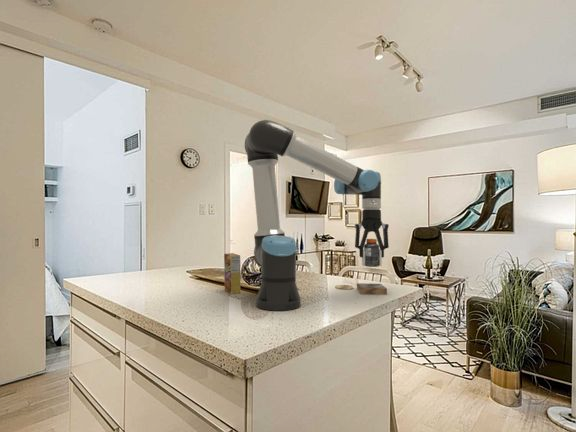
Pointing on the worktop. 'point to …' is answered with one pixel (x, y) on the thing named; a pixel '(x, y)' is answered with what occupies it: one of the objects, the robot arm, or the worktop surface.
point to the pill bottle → (371, 253)
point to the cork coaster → (344, 287)
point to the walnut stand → (371, 289)
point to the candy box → (232, 272)
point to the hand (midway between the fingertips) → (371, 265)
